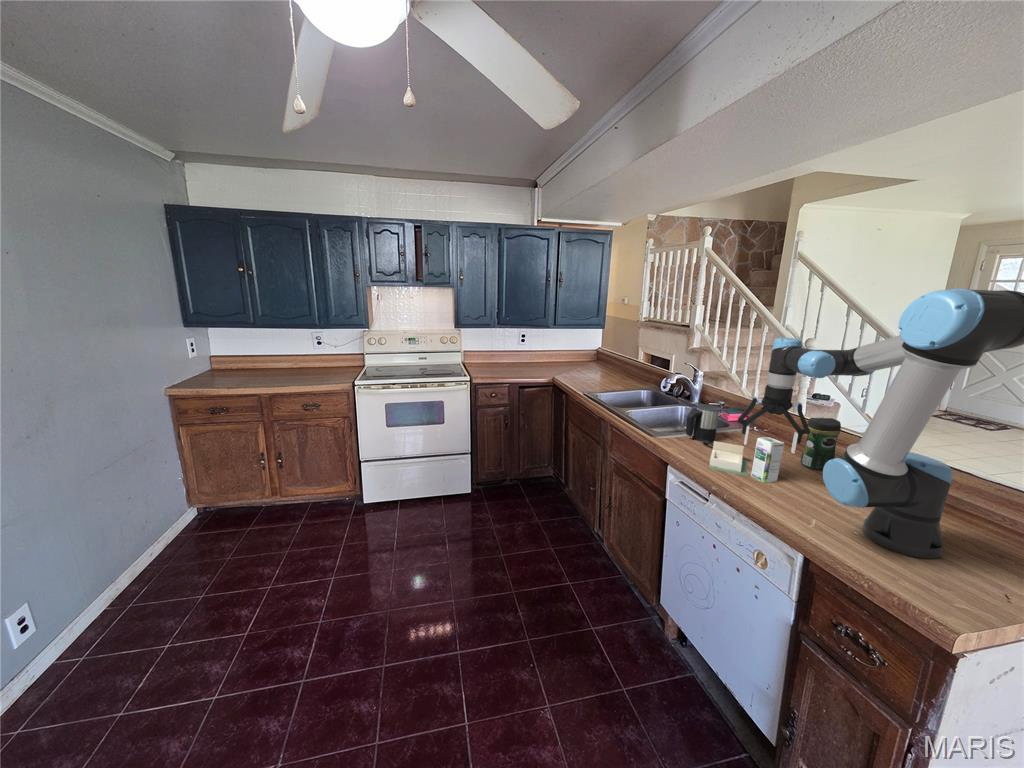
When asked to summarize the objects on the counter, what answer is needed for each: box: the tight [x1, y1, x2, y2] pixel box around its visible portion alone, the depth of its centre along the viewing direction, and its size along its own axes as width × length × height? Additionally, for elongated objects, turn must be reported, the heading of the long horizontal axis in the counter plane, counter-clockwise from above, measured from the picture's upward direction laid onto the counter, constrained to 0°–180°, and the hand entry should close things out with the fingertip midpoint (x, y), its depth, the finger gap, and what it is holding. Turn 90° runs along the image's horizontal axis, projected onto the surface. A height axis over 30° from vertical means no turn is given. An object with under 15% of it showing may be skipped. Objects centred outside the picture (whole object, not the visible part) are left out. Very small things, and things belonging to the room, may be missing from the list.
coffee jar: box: [800, 417, 842, 471], centre depth 149 cm, size 10×8×19 cm
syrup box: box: [750, 436, 785, 484], centre depth 138 cm, size 6×6×14 cm
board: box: [708, 458, 749, 477], centre depth 150 cm, size 16×12×1 cm
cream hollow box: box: [708, 441, 745, 472], centre depth 150 cm, size 11×10×6 cm
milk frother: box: [685, 403, 721, 447], centre depth 171 cm, size 14×16×15 cm
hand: (768, 447), depth 137 cm, fingers open, 13 cm apart
